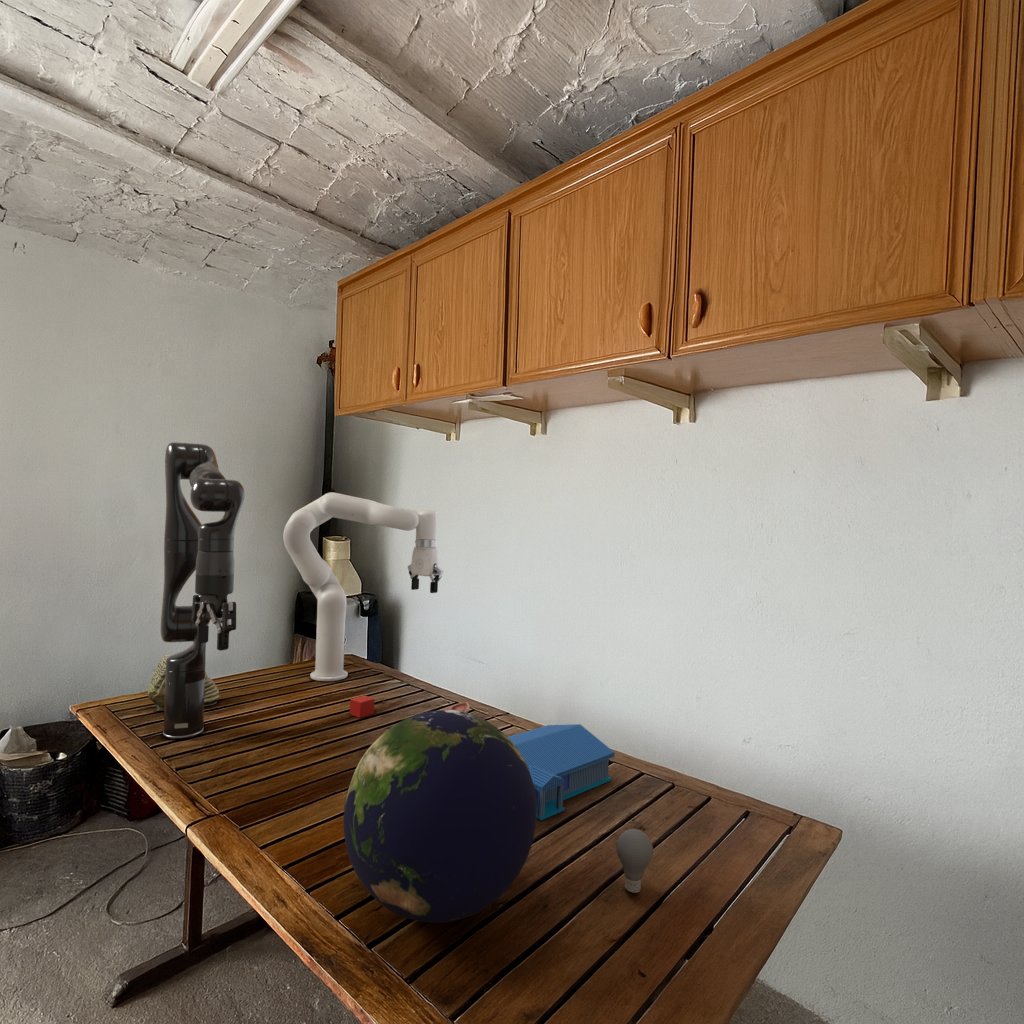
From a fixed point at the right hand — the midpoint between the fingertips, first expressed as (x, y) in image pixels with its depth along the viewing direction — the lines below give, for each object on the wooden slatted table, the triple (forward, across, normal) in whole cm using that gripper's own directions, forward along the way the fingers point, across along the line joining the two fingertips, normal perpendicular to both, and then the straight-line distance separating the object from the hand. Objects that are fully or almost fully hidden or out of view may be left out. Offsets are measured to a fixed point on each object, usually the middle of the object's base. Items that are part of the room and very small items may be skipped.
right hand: (424, 591), depth 230 cm
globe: (+30, +98, -90) cm, 136 cm away
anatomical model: (+30, +40, -29) cm, 58 cm away
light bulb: (+30, +119, -66) cm, 139 cm away
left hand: (0, +32, -94) cm, 99 cm away
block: (+30, +20, -43) cm, 56 cm away
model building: (+30, +84, -48) cm, 101 cm away
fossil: (+30, -21, -75) cm, 83 cm away
